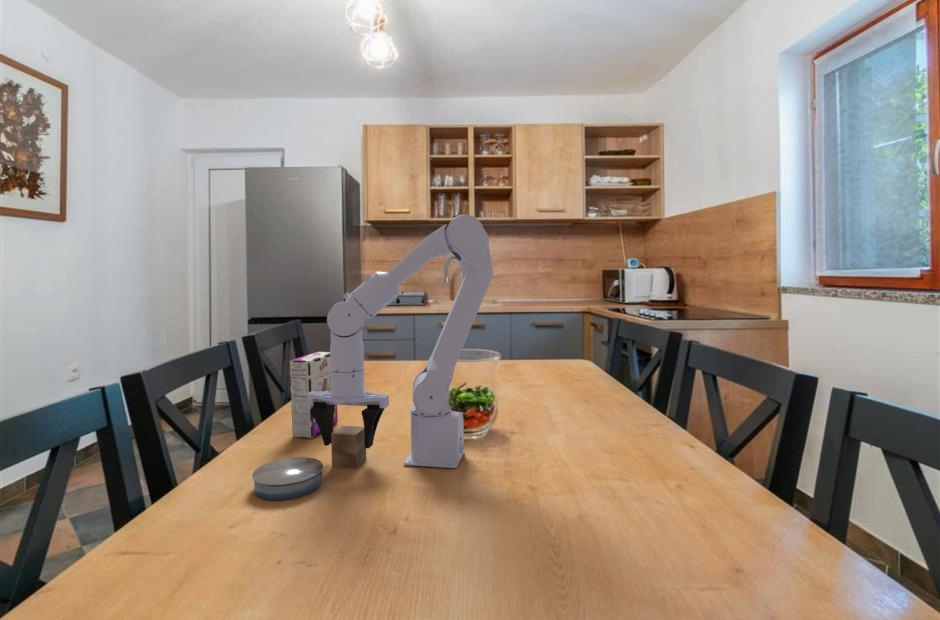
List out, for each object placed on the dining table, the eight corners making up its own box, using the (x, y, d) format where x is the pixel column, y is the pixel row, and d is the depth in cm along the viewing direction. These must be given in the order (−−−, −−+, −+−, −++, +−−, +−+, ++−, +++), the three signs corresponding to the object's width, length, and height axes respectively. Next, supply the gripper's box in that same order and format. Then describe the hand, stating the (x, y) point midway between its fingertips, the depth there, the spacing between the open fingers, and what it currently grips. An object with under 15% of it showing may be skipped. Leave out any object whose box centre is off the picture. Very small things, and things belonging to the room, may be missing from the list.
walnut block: (366, 459, 86) (365, 426, 85) (356, 468, 81) (355, 434, 81) (343, 457, 86) (342, 425, 86) (331, 467, 82) (331, 433, 81)
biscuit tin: (334, 476, 79) (334, 458, 78) (302, 505, 68) (302, 485, 68) (277, 472, 80) (277, 455, 80) (238, 500, 70) (237, 480, 70)
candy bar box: (318, 421, 108) (316, 351, 107) (338, 423, 107) (336, 351, 106) (290, 438, 97) (288, 359, 96) (312, 439, 96) (310, 360, 95)
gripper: (297, 372, 80) (299, 450, 81) (378, 375, 77) (379, 456, 78) (317, 365, 87) (319, 437, 88) (392, 367, 84) (393, 441, 85)
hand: (348, 445), depth 83 cm, fingers open, 7 cm apart
